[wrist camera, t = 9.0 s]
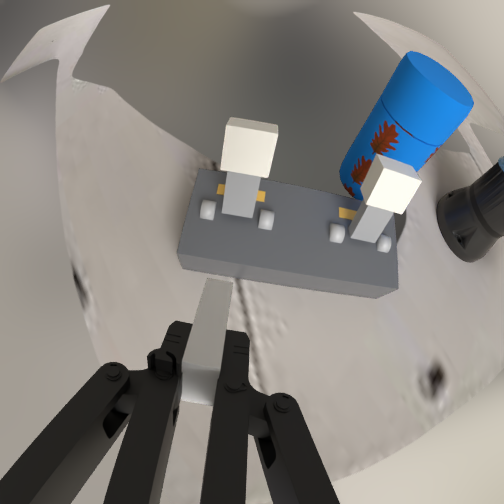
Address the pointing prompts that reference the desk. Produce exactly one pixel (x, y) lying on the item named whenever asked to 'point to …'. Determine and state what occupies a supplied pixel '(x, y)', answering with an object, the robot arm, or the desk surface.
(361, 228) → the inner lever
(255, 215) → the switch box
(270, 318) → the desk surface
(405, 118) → the thermos
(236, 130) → the outer lever
